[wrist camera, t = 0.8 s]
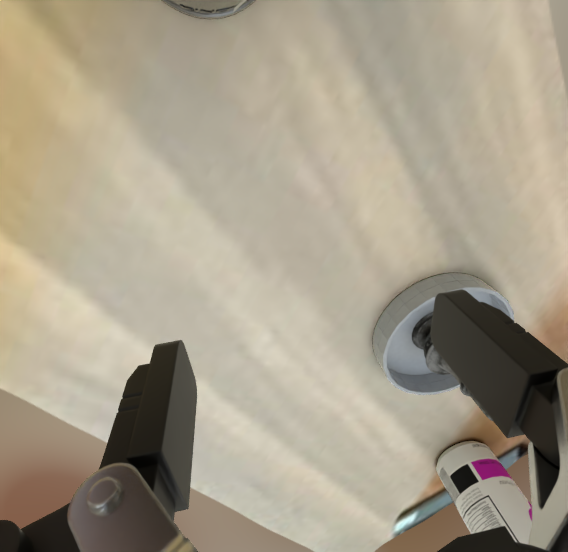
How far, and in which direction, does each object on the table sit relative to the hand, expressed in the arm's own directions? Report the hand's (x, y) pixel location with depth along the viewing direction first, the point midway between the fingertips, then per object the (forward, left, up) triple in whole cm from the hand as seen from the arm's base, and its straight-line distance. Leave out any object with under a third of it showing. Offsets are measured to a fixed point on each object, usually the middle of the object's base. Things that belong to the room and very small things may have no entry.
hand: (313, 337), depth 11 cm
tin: (+19, +16, -18) cm, 31 cm away
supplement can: (+45, +22, -18) cm, 53 cm away
